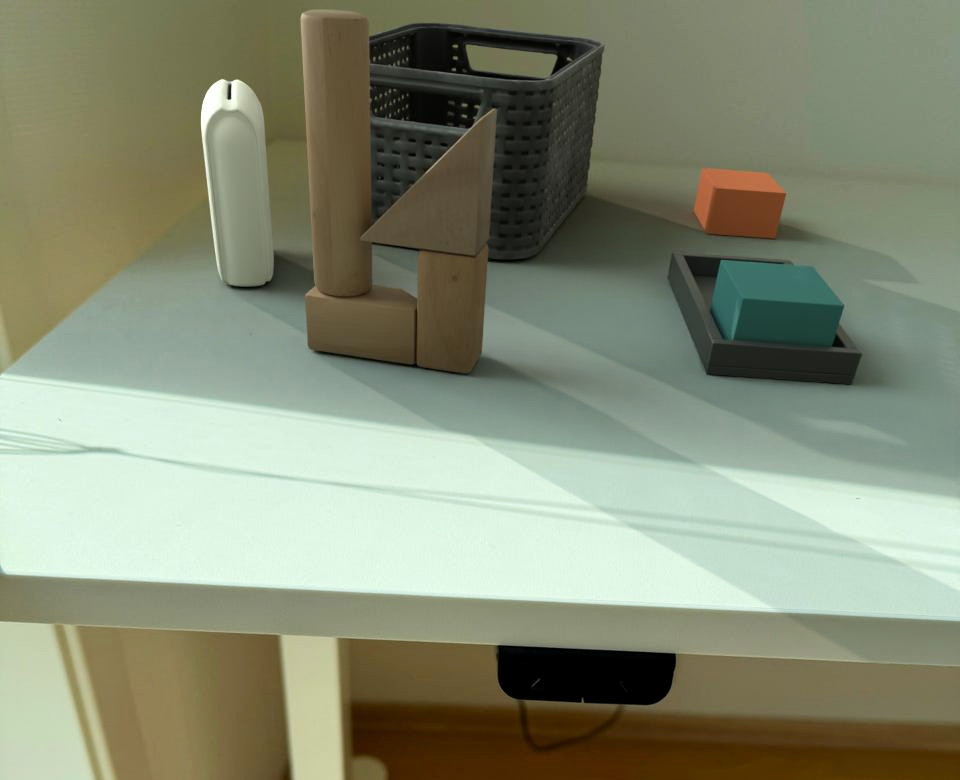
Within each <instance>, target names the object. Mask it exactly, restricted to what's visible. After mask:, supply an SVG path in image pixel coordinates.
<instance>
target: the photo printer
mask: <svg viewBox="0 0 960 780" xmlns="http://www.w3.org/2000/svg"><path fill="white" fill-rule="evenodd" d="M200 113H201V114H200V129H201V139H202V140H201V141H202V149H203V158H204V167H205V176H206V185H207V194H208V203H209V210H210V211H209V212H210V218H211V219H210V221H211V229H212V237H213V245H214V251H215V260H216V266H217V271H218V274H219V277H220V281H222V282H225V283H227V284H228V285H229V286H233V287H260V286H264V285H265V284H266V282H270V281H271V280H272V278H273V275H274V269H275V267H274V263H275V259H274V258H275V255H274V254H275V253H274V250H275V249H274V237H273V235H274V234H273V225H272V212H271V211H272V210H271V199H270V185H269V172H268V171H269V170H268V158H267V144H266V127H265V116H264V110H263V107H262V104H261V102H260V100H259V98H258V96H257V94H256V93H255V92H254V90H253V89H252V88H251V87H250V86H249V85H248V84H246V83H245V82H243V81H242V80H240V79H233V81H229V80H226V79H224V78H223V79H222V78H221V79H220V80H217V81H216V82H214V83H213V84H212V85H211V86H210V87H209V89H207V91H206V93H205V96H204V98H203V101H202V105H201V112H200Z"/></svg>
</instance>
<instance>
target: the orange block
mask: <svg viewBox="0 0 960 780" xmlns="http://www.w3.org/2000/svg"><path fill="white" fill-rule="evenodd" d="M700 171H701V172H700V177H699V181H698V186H697V192H696V198H695V202H694V208H693V212H694V214H695V216H696V217H697V220H698V222H699V223H700V225H701V227H702V228H703V230H704V232H705V233H706V235H716V236H730V237H746V238H756V239H757V238H760V239H769V240H770V239H772V240H775V239H776V237H777V233H778V228H779V225H780V220H781V216H782V212H783V208H784V204H785V201H786V197H787V192H786V191H785V190H784V189H783V188H782V186H781V185H780V184H779V183H777V182H776V181H775V179H774V178H773V177H772V176H771V175H770V174H769V173H768V172H761V171H745V170H744V171H743V170H732V169H719V168H708V167H707V168H706V167H703V168H701V170H700Z"/></svg>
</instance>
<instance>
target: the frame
mask: <svg viewBox="0 0 960 780" xmlns="http://www.w3.org/2000/svg"><path fill="white" fill-rule="evenodd" d="M721 260H730V261H744V262H758V263H772V264H785V265H795V264H794V263H793V261H792V260H791V259H780V258H769V257H768V258H764V257H752V256H740V255H739V256H738V255H723V254H712V253H711V254H710V253H700V252H699V253H696V252H685V251H684V252H683V251H672V252H671V256H670V260H669V261H670V262H669V266H668V273H667V277H666V278H667V280H668V283H669V285H670V288H671V291H672V293H673V295H674V297H675V300H676V302H677V303H676V304H677V305H678V308H679V310H680V312H681V315H682V318H683V320H684V322H685V325H686V327H687V330H688V333H689V335H690V337H691V340H692V342H693V344H694V347H695V350H696V352H697V355H698V356H699V359H700V361H701V364H702V367H703V370H704V371H705V374H706V375H714V376H715V375H716V376H728V377H743V378H744V377H746V378H758V379H759V378H760V379H772V380H787V381H800V382H801V381H802V382H813V383H814V382H816V383H828V384H829V383H830V384H840V385H841V384H845V385H853V383H854V380H855V376H856V373H857V371H858V368H859V365H860V362H861V358H862V356H863V353H862V351H861V350H860V349H859V347H857V345H856V344H855V342H854V341H853V340H852V338H851V337H850V336H849V335H848V333H847V331H845V329H844V328H843V326H842V325H841V324H840V323H839V325H838V328H837V331H836V335H835V338H834V341H833V344H832V347H824V346H810V345H795V344H781V343H767V342H753V341H739V340H725V339H723V338H722V336H721V334H720V332H719V330H718V328H717V326H716V324H715V321H714V319H713V317H712V315H711V313H710V308H711V303H712V299H713V294H714V289H715V285H716V280H717V276H718V271H719V266H720V262H721Z"/></svg>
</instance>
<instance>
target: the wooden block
mask: <svg viewBox="0 0 960 780" xmlns="http://www.w3.org/2000/svg"><path fill="white" fill-rule="evenodd" d="M300 34H301V54H302V55H301V56H302V72H303V74H302V75H303V91H304V92H303V93H304V110H305V111H304V112H305V128H306V129H305V131H306V147H307V148H306V149H307V166H308V167H307V168H308V169H307V170H308V171H307V172H308V190H309V202H310V203H309V209H310V225H311V228H310V229H311V244H312V245H311V247H312V262H313V263H312V265H313V279H314V280H313V281H314V282H313V283H314V287H312V288H311V289H310V290H309V291H307V293H305V296H304V301H305V302H304V303H305V304H304V305H305V321H306V339H307V347H308V349H309V350H312V351H318V352H325V353H331V354H332V353H333V354H336V355H337V354H338V355H344V356H352V357H358V358H363V359H365V358H366V359H370V360H378V361H383V362H384V361H385V362H391V363H397V364H404V365H411V366H412V365H414V364H416V365H417V366H418V367H420V368H424V369H425V368H427V369H433V370H439V371H444V372H445V371H446V372H453V373H459V374H465V375H466V374H470V373H471V372H472V370H473V369H474V366H475V365H476V363H477V361H478V360H479V358H480V357H481V355H482V353H483V341H484V340H483V339H484V325H485V323H484V322H485V309H486V295H487V294H486V293H487V277H488V263H489V262H488V261H489V260H488V245H487V243H486V242H487V240H488V239H489V228H490V212H491V197H492V181H493V165H494V149H495V134H496V118H497V110H496V109H492V110H491V111H490V112H488V113H487V114H486V115H484V116H483V117H482V118H480V119H479V120H478V121H477V122H476V123H475V124H474V125H473V126H472V127H471V128H470V129H469V130H468V131H467V132H466V133H465V134H464V135H463V136H462V137H461V138H460V139H459V140H458V141H457V142H456V143H455V144H454V145H453V146H452V147H451V148H450V149H449V150H448V151H447V152H446V153H445V154H444V155H443V156H442V157H441V158H440V159H439V160H438V161H437V162H436V163H435V164H434V165H433V166H432V167H431V168H430V169H429V170H428V171H427V172H426V173H425V174H424V175H423V176H422V177H421V178H420V179H419V180H418V181H417V182H416V183H415V184H414V185H413V186H412V187H411V188H410V189H409V190H408V191H407V192H406V193H405V194H404V195H403V196H402V197H401V198H400V199H399V200H398V201H397V202H396V203H395V204H394V205H393V206H392V207H391V208H390V209H389V210H388V211H387V212H386V213H385V214H384V215H383V216H382V217H381V218H380V219H379V220H377V221H376V222H375V223H374V224H373V225H372V216H371V142H370V101H371V99H370V89H371V86H370V67H369V63H370V59H369V36H370V22H369V19H368V17H367V16H366V15H364V14H363V13H360V12H357V11H350V10H341V9H323V8H321V9H319V8H318V9H308V10H306V11H303V12H301V16H300ZM373 243H374V244H380V245H381V244H382V245H389V246H396V247H402V246H403V247H402V248H408V247H411V248H410V249H415V248H419V249H418V250H419V251H418V253H417V293H416V295H417V297H416V296H414V295H412V294H411V293H409V292H408V291H406V290H405V289H403V288H399V287H391V286H386V285H385V286H384V285H378V284H377V285H376V284H373Z"/></svg>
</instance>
